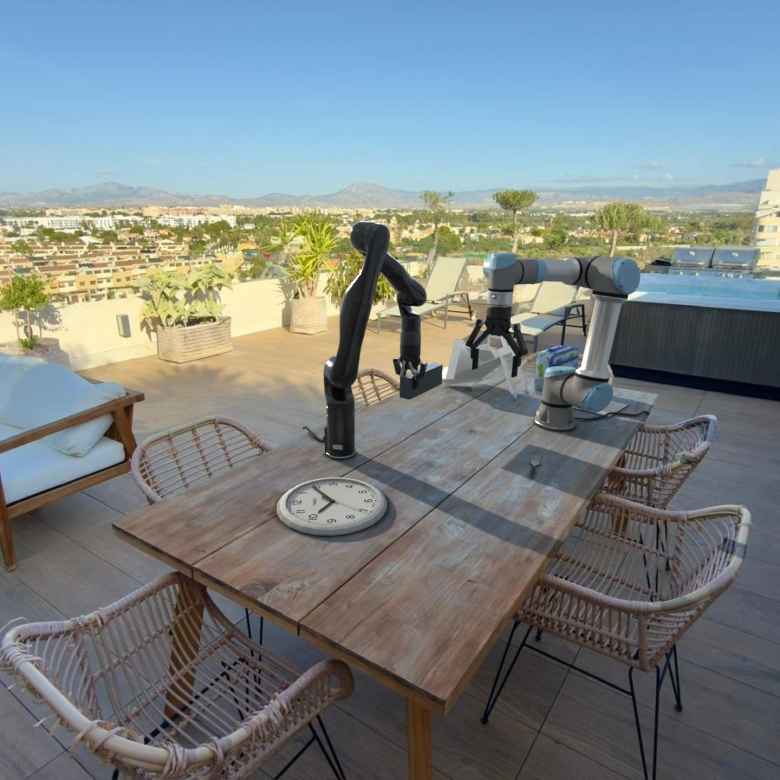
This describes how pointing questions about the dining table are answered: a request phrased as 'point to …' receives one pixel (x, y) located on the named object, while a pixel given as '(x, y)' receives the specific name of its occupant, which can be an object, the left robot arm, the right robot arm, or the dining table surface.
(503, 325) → the right robot arm
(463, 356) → the white plastic object
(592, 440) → the dining table surface
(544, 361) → the lunch box
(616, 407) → the invitation card
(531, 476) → the fork
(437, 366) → the bar
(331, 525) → the wall clock
